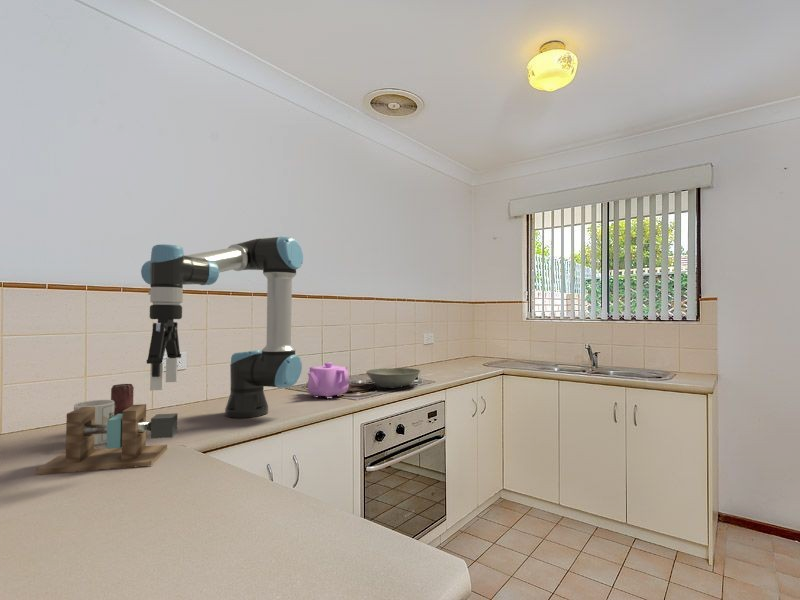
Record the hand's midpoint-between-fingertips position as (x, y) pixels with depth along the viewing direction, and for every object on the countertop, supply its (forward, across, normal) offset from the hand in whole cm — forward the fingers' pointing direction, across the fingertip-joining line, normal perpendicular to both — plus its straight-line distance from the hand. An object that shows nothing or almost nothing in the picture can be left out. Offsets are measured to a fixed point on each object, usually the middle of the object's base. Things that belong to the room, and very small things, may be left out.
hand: (164, 385), depth 116 cm
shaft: (+13, 0, -8) cm, 15 cm away
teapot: (+18, -75, +48) cm, 91 cm away
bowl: (+18, -94, +82) cm, 126 cm away
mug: (+18, -19, -24) cm, 36 cm away
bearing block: (+18, 0, -13) cm, 22 cm away
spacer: (+14, 0, -10) cm, 18 cm away
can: (+18, -34, -21) cm, 44 cm away
